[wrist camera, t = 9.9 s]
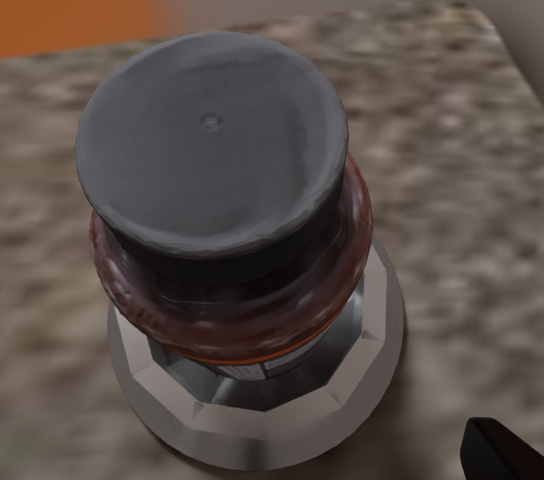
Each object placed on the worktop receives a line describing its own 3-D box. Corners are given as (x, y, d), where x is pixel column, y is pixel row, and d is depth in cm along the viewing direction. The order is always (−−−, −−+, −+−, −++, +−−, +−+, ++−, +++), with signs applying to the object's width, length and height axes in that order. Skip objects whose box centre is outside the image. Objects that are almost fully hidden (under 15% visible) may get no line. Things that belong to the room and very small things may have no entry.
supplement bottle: (159, 277, 17) (-44, 56, 6) (283, 217, 18) (290, -60, 7) (219, 415, 14) (64, 432, 4) (356, 337, 15) (515, 192, 5)
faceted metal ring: (452, 280, 17) (480, 260, 15) (283, 551, 13) (283, 582, 11) (237, 141, 20) (232, 106, 18) (51, 331, 16) (14, 318, 14)
